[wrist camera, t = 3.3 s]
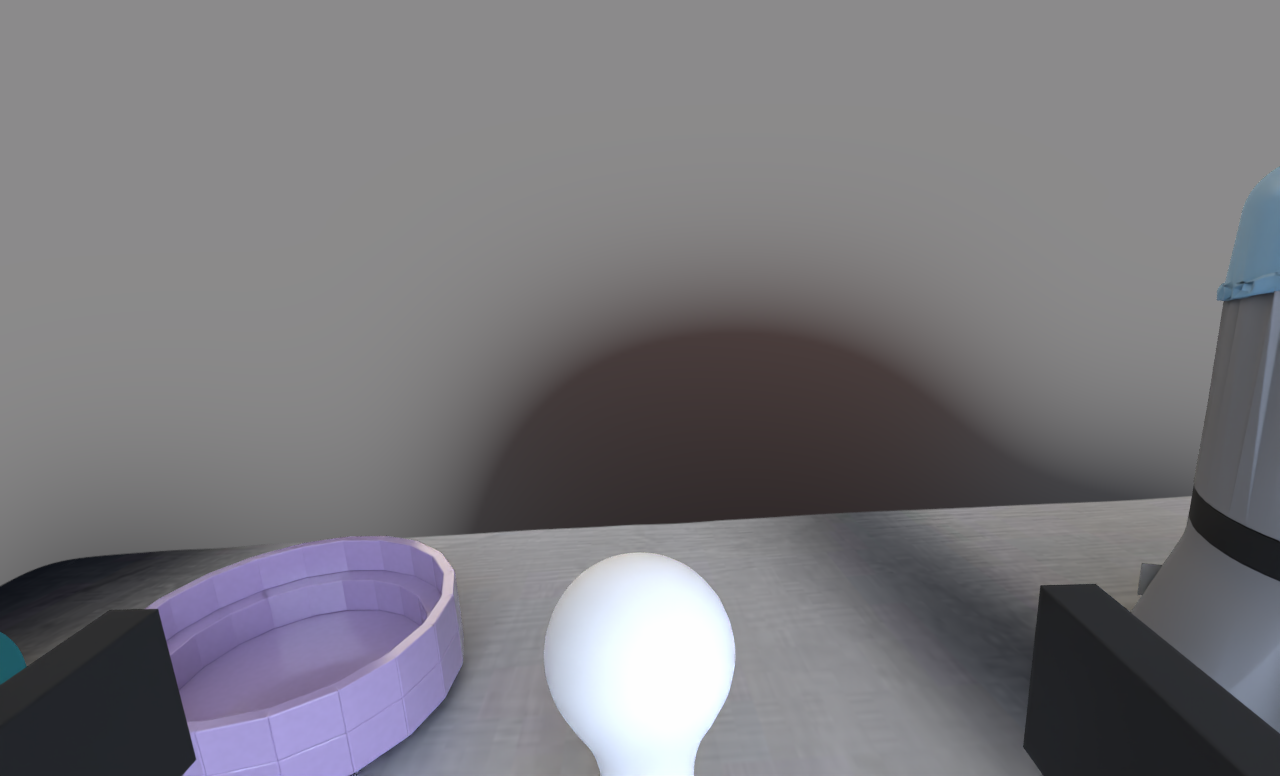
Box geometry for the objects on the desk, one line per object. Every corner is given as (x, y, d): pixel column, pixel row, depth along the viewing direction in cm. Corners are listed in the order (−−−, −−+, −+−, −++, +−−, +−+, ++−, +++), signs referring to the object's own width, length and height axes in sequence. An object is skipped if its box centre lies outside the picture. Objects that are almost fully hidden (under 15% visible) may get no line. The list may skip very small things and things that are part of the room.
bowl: (521, 629, 35) (513, 555, 34) (281, 888, 22) (255, 779, 21) (318, 586, 41) (306, 522, 40) (27, 771, 27) (-3, 681, 26)
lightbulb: (689, 980, 18) (672, 648, 16) (528, 879, 22) (492, 588, 19) (766, 815, 23) (763, 541, 21) (626, 753, 27) (608, 508, 24)
